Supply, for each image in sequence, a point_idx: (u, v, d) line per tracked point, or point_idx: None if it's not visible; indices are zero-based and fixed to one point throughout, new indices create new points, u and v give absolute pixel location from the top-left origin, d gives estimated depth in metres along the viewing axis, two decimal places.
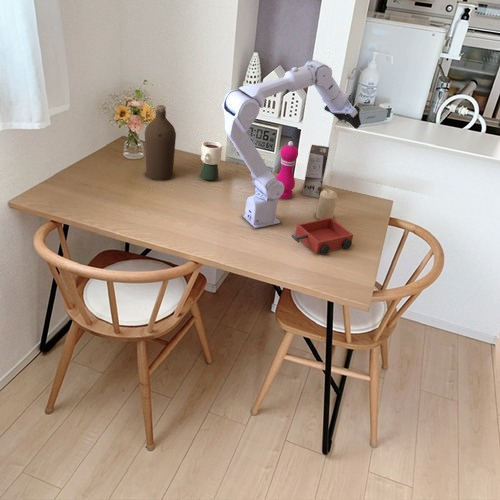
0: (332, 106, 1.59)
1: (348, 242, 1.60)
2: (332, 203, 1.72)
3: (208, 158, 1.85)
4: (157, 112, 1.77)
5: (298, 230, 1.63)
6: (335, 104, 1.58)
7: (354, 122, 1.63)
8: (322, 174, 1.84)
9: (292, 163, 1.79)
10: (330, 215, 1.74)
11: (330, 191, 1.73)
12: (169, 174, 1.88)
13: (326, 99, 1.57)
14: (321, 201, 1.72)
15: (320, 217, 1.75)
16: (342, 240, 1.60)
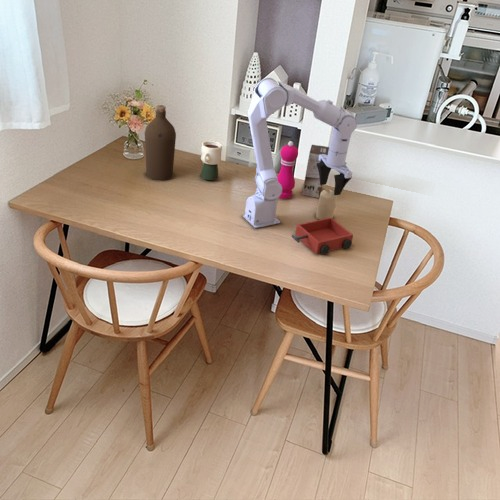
0: (333, 159, 1.63)
1: (348, 242, 1.60)
2: (332, 203, 1.72)
3: (208, 158, 1.85)
4: (157, 112, 1.77)
5: (298, 230, 1.63)
6: (337, 158, 1.63)
7: (338, 187, 1.67)
8: None
9: (292, 163, 1.79)
10: (330, 215, 1.74)
11: (330, 191, 1.73)
12: (169, 174, 1.88)
13: (332, 148, 1.62)
14: (321, 201, 1.72)
15: (320, 217, 1.75)
16: (342, 240, 1.60)
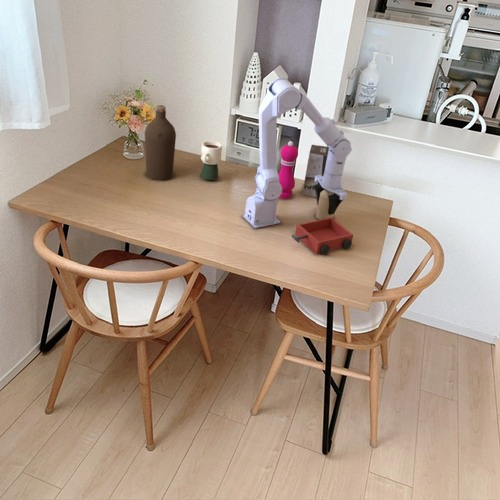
0: (329, 181, 1.67)
1: (348, 242, 1.60)
2: None
3: (208, 158, 1.85)
4: (157, 112, 1.77)
5: (298, 230, 1.63)
6: (332, 180, 1.67)
7: (332, 207, 1.71)
8: (322, 174, 1.84)
9: (292, 163, 1.79)
10: (330, 215, 1.74)
11: (330, 191, 1.73)
12: (169, 174, 1.88)
13: (328, 171, 1.66)
14: (321, 201, 1.72)
15: (320, 217, 1.75)
16: (342, 240, 1.60)
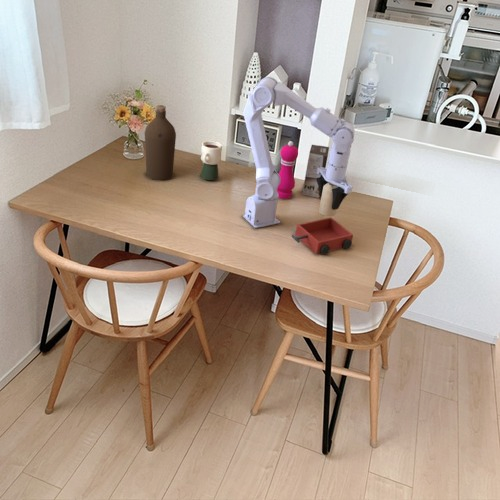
0: (333, 174, 1.55)
1: (348, 242, 1.60)
2: None
3: (208, 158, 1.85)
4: (157, 112, 1.77)
5: (298, 230, 1.63)
6: (337, 173, 1.55)
7: (336, 201, 1.59)
8: None
9: (292, 163, 1.79)
10: (334, 210, 1.62)
11: None
12: (169, 174, 1.88)
13: (329, 160, 1.55)
14: (324, 195, 1.60)
15: (323, 212, 1.63)
16: (342, 240, 1.60)
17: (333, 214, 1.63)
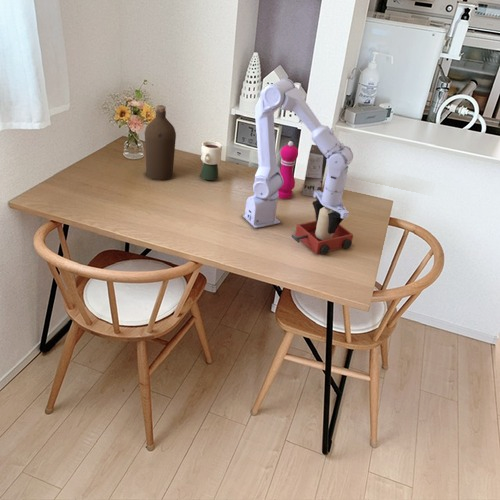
0: (329, 198, 1.54)
1: (348, 242, 1.60)
2: None
3: (208, 158, 1.85)
4: (157, 112, 1.77)
5: (298, 230, 1.63)
6: (333, 197, 1.53)
7: (332, 225, 1.58)
8: (322, 174, 1.84)
9: (292, 163, 1.79)
10: (330, 234, 1.60)
11: None
12: (169, 174, 1.88)
13: None
14: (320, 219, 1.59)
15: (319, 236, 1.61)
16: (342, 240, 1.60)
17: (329, 238, 1.61)
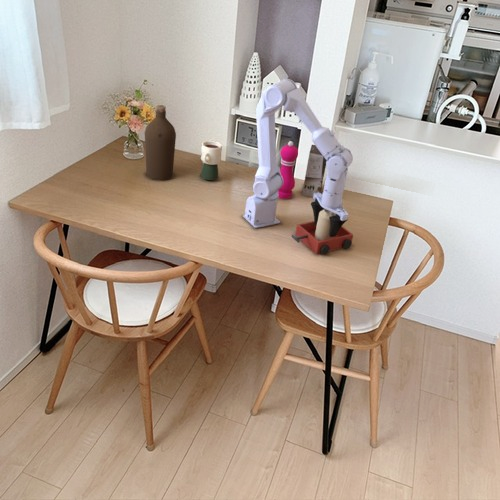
0: (329, 200, 1.54)
1: (348, 242, 1.60)
2: None
3: (208, 158, 1.85)
4: (157, 112, 1.77)
5: (298, 230, 1.63)
6: (332, 199, 1.53)
7: (334, 229, 1.57)
8: (322, 174, 1.84)
9: (292, 163, 1.79)
10: (330, 237, 1.61)
11: (330, 211, 1.60)
12: (169, 174, 1.88)
13: None
14: (320, 222, 1.59)
15: (319, 239, 1.62)
16: (342, 240, 1.60)
17: None
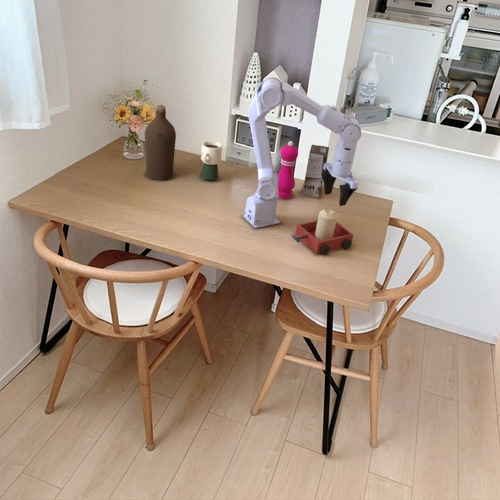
0: (339, 169, 1.58)
1: (348, 242, 1.60)
2: (332, 224, 1.58)
3: (208, 158, 1.85)
4: (157, 112, 1.77)
5: (298, 230, 1.63)
6: (343, 168, 1.57)
7: (344, 197, 1.61)
8: None
9: (292, 163, 1.79)
10: (330, 237, 1.61)
11: (330, 211, 1.60)
12: (169, 174, 1.88)
13: (336, 156, 1.57)
14: (320, 222, 1.59)
15: (319, 239, 1.62)
16: (342, 240, 1.60)
17: None
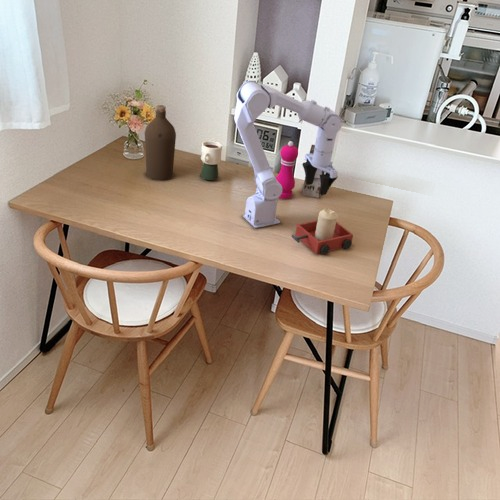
0: (319, 159, 1.62)
1: (348, 242, 1.60)
2: (332, 224, 1.58)
3: (208, 158, 1.85)
4: (157, 112, 1.77)
5: (298, 230, 1.63)
6: (322, 158, 1.62)
7: (324, 187, 1.66)
8: None
9: (292, 163, 1.79)
10: (330, 237, 1.61)
11: (330, 211, 1.60)
12: (169, 174, 1.88)
13: (317, 148, 1.61)
14: (320, 222, 1.59)
15: (319, 239, 1.62)
16: (342, 240, 1.60)
17: None
